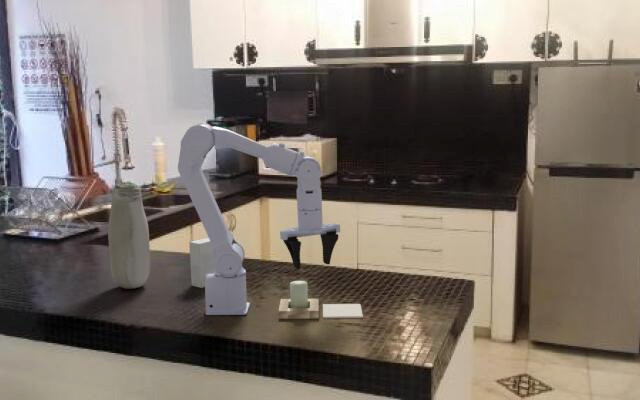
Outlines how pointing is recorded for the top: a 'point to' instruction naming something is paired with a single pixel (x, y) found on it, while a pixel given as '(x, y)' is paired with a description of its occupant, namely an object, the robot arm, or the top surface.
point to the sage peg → (298, 294)
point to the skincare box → (201, 261)
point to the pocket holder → (298, 310)
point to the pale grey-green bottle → (128, 237)
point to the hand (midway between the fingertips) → (312, 265)
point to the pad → (342, 311)
